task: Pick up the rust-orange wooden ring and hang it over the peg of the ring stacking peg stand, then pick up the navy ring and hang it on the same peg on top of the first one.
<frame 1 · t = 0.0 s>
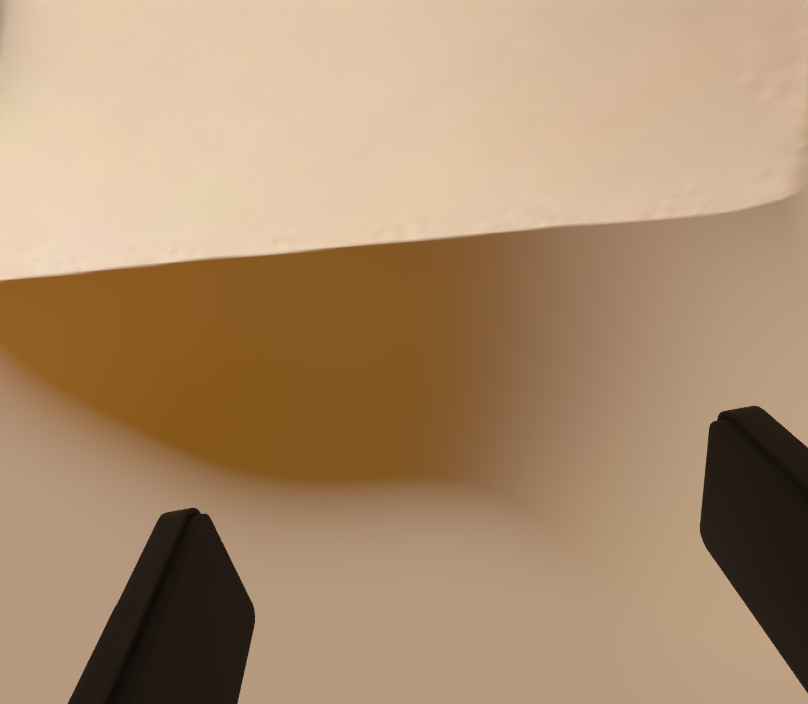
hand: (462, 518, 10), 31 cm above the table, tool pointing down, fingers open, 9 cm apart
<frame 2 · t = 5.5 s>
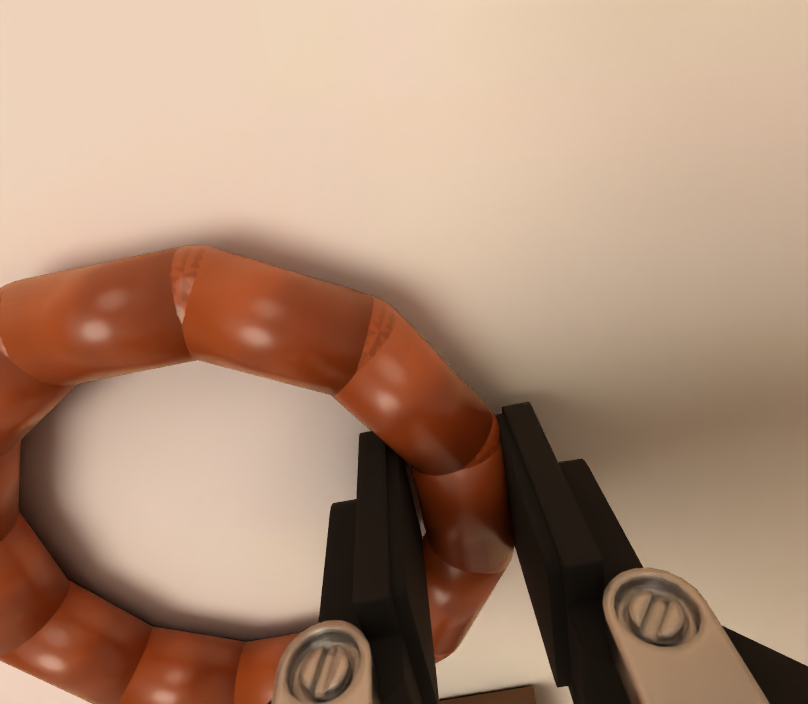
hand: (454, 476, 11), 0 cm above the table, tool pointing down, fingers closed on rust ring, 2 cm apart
rust ring: (225, 533, 11), point 1 cm above the table, touching gripper
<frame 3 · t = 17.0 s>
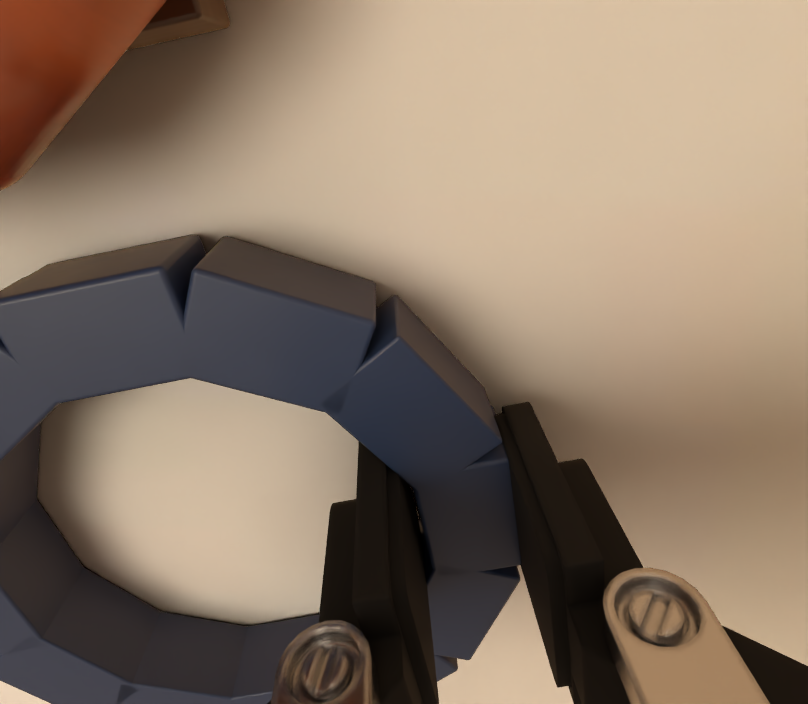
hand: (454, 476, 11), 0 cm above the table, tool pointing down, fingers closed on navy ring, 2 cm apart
navy ring: (236, 501, 12), on the table, touching gripper
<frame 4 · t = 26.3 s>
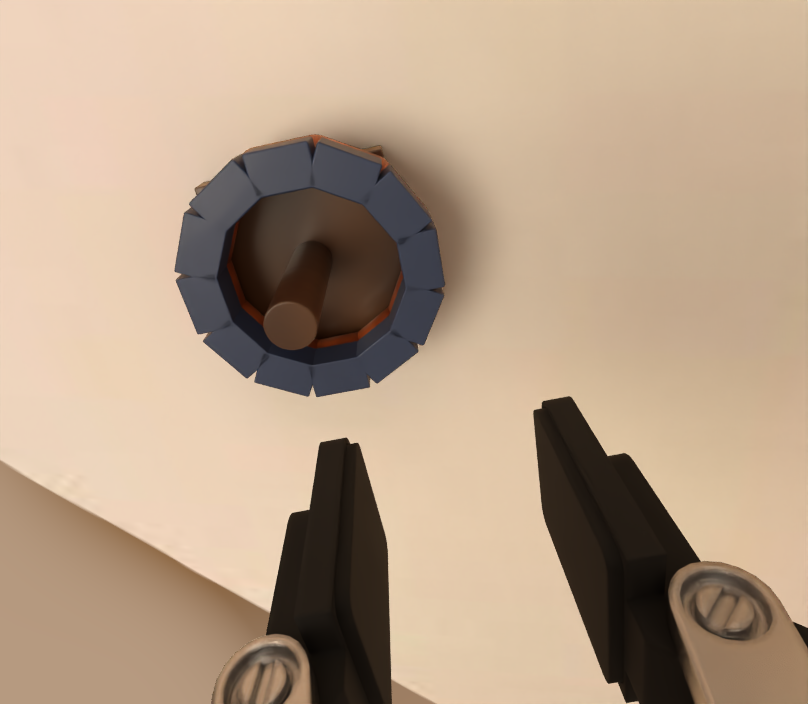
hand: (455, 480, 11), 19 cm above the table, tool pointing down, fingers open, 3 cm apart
rust ring: (317, 265, 26), point 2 cm above the table, touching ring stacking peg stand, navy ring
navy ring: (316, 270, 25), point 3 cm above the table, touching rust ring
ring stacking peg stand: (315, 251, 28), on the table
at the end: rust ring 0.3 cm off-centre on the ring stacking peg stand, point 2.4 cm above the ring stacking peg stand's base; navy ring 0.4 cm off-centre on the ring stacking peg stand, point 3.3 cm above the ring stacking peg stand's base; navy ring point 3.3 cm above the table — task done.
